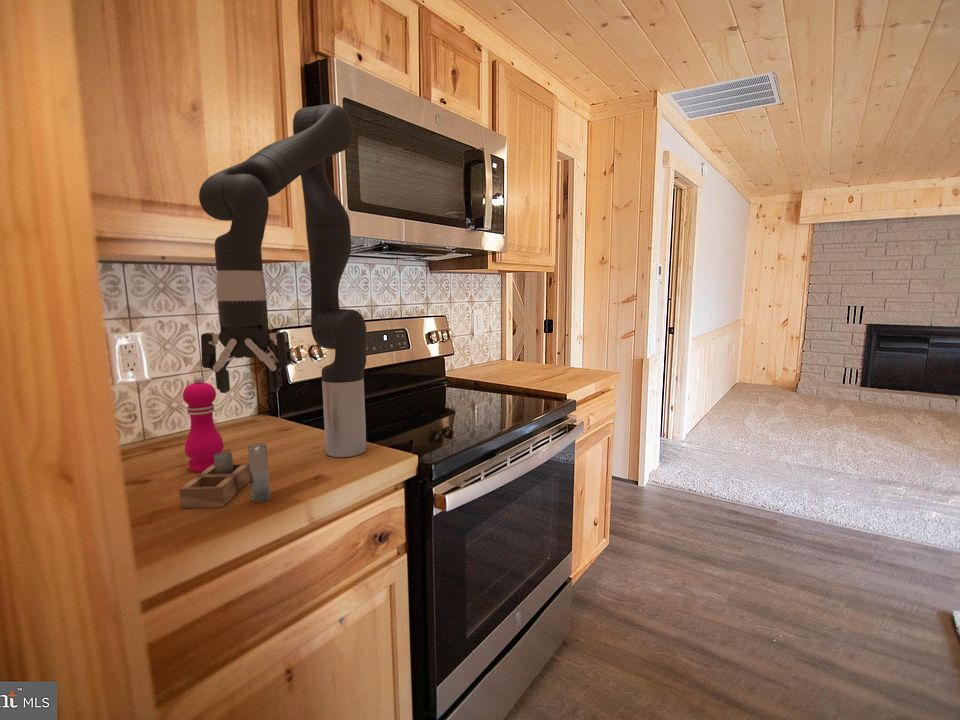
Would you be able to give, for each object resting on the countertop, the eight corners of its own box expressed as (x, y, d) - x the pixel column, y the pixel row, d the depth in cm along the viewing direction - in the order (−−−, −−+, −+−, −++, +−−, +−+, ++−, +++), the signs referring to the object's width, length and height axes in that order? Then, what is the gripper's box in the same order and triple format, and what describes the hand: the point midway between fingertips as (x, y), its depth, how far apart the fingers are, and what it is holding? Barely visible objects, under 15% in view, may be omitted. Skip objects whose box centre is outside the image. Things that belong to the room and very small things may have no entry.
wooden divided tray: (214, 480, 95) (211, 449, 94) (250, 479, 96) (248, 448, 95) (181, 508, 84) (177, 472, 83) (222, 507, 84) (219, 471, 83)
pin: (256, 495, 89) (252, 443, 87) (272, 495, 89) (268, 443, 87) (249, 502, 86) (245, 449, 84) (266, 502, 86) (262, 448, 84)
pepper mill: (216, 458, 108) (209, 371, 105) (231, 465, 104) (223, 374, 101) (181, 467, 103) (171, 375, 100) (194, 476, 98) (185, 380, 95)
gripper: (292, 297, 85) (298, 386, 88) (210, 298, 85) (218, 387, 87) (276, 298, 78) (283, 395, 80) (187, 299, 77) (196, 397, 80)
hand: (249, 391), depth 84 cm, fingers open, 8 cm apart
